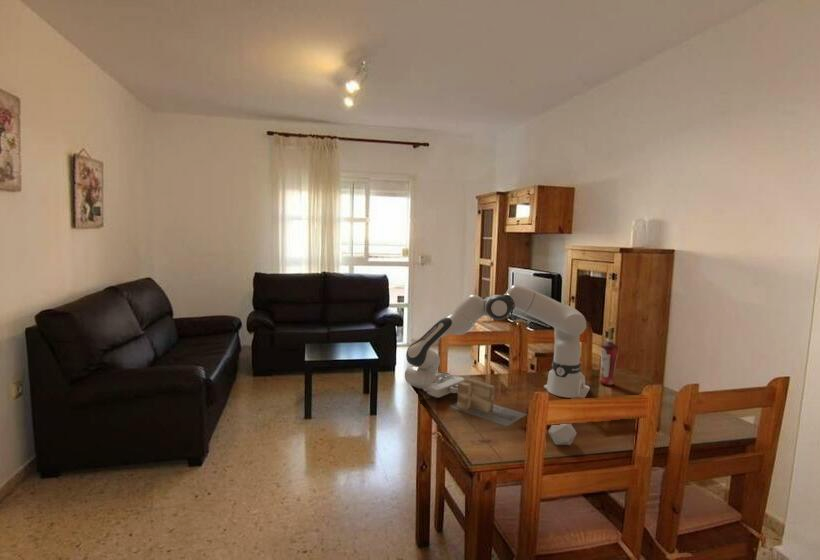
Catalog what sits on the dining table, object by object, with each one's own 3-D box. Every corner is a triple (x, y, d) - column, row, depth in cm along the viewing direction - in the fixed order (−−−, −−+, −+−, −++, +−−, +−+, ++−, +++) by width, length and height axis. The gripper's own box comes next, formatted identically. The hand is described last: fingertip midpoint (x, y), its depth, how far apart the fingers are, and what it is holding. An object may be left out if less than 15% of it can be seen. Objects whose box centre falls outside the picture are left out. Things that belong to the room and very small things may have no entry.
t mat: (470, 396, 202) (470, 396, 202) (527, 414, 185) (527, 414, 185) (448, 406, 190) (448, 406, 190) (507, 427, 173) (507, 426, 173)
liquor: (595, 382, 228) (599, 326, 225) (607, 381, 230) (612, 325, 227) (605, 387, 221) (610, 329, 218) (618, 386, 223) (623, 329, 220)
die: (570, 453, 155) (584, 428, 157) (548, 438, 156) (562, 413, 158) (562, 450, 163) (575, 426, 165) (541, 436, 164) (554, 412, 166)
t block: (473, 399, 199) (474, 376, 197) (498, 407, 191) (499, 383, 190) (457, 407, 190) (458, 383, 188) (482, 415, 182) (483, 390, 181)
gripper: (420, 381, 196) (447, 389, 187) (449, 371, 211) (475, 378, 202) (420, 396, 197) (446, 405, 188) (449, 384, 212) (474, 392, 203)
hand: (461, 391), depth 195 cm, fingers closed
